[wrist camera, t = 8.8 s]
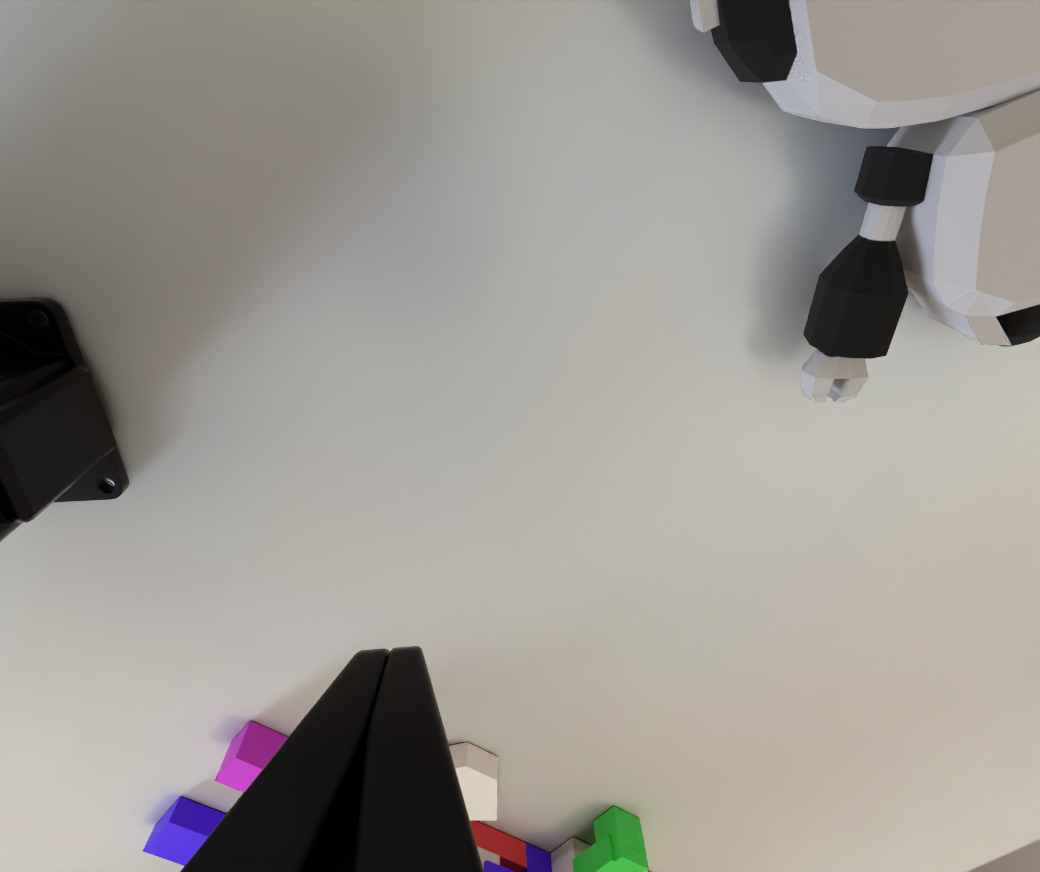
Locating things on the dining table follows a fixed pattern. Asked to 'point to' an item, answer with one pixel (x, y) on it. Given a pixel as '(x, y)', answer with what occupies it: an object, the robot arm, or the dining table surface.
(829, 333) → the robot toy
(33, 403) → the robot arm
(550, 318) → the dining table surface
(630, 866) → the building block set
